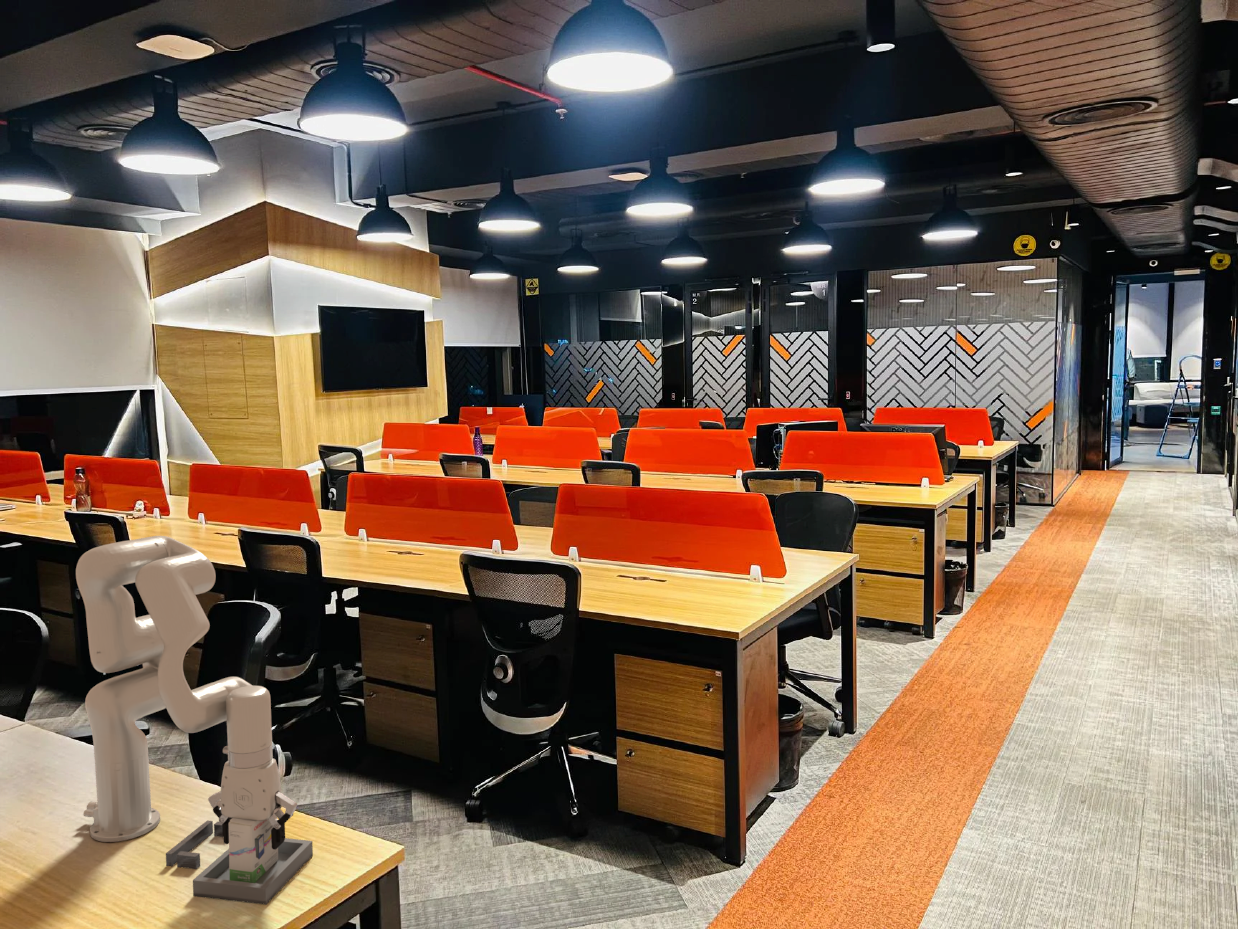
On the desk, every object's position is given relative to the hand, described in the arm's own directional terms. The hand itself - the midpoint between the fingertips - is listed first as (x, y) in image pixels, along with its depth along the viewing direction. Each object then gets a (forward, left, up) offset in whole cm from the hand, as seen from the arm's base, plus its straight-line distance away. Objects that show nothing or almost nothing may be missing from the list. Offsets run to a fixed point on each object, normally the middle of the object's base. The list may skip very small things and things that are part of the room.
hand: (254, 843), depth 166 cm
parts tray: (0, 0, -6) cm, 6 cm away
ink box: (0, 0, -6) cm, 6 cm away
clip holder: (-15, +6, -6) cm, 17 cm away
